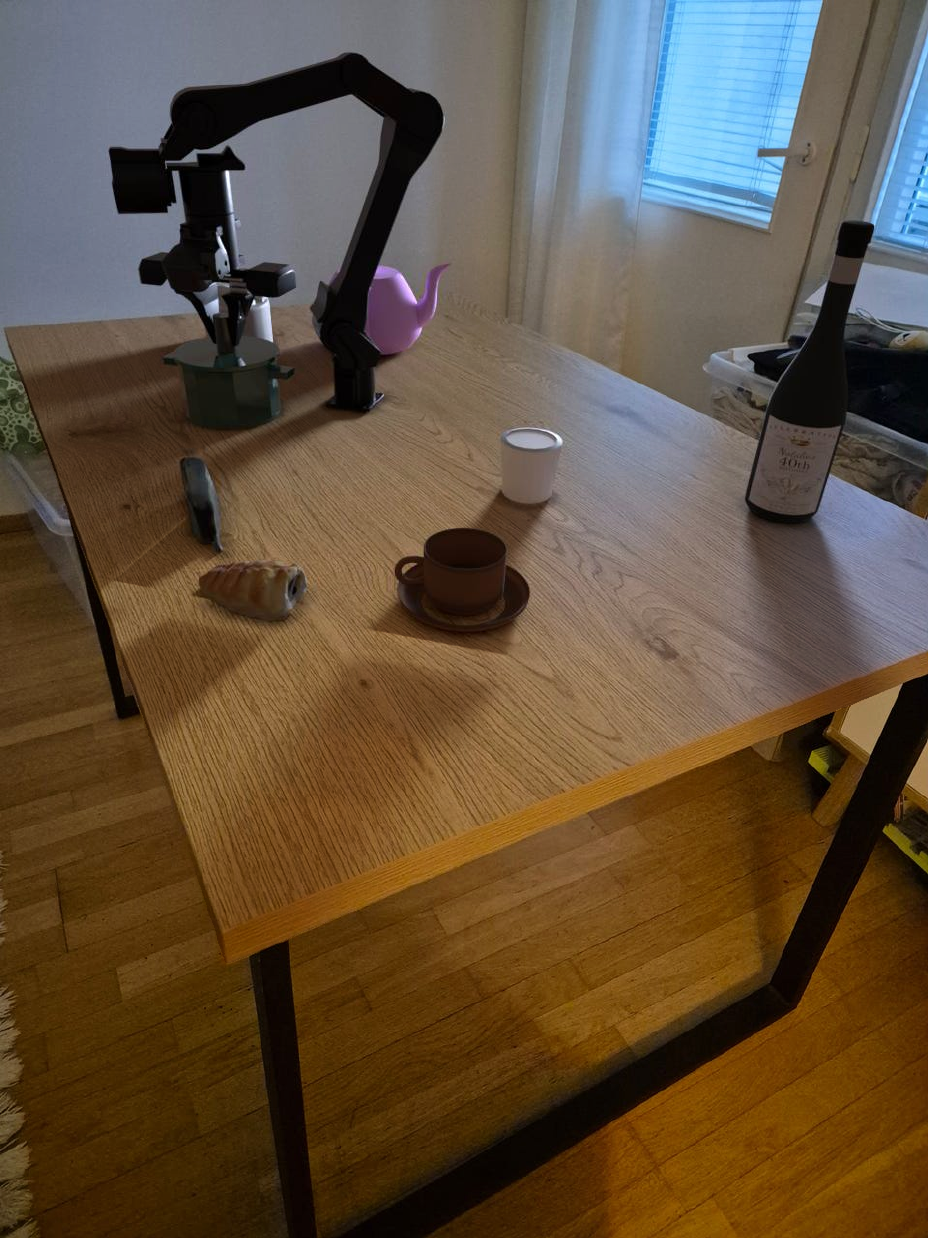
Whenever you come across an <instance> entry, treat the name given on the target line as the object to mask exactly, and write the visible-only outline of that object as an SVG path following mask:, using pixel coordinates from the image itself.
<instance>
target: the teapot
mask: <svg viewBox="0 0 928 1238" xmlns="http://www.w3.org/2000/svg"><path fill="white" fill-rule="evenodd" d="M451 265H452V263H450V262H449V263H445V264H441V265H440V264H439V265H437V266H434V267H433V268H431V269H430V271H428V274H427V276H426V281H425V292H424V295H423V297H422V299H421V300H419V302H417V300H416V298H415V295H414V293H413V291H412V289H411V288H410V285H408V283H407V281H406V279H405V278H404V276H403V275H402V273H401V272H400V271H399V270H398V269H396V268H394V267H390V266H386V265H380V264H379V265H378V268H377V270H376V273H375V276H374V278H373V281H372V284H371V286H370V290H369V300H368V315H367V321H366V326H365V332H366V333H367V334H368V336H369V337H370V338H371V340H372V341H373V342H374V344H375V345H376V346H377V348H378V349H379V351H380V352H381V355H383V356H384V355H385V356H386V355H387V356H388V355H394V354H396V353H399V352H403V351H406V350H407V349H409V348H410V347H412V345H413V344H414V343H415V342H416V340H417V339H418V338H419V337H420V336H421V333H422V330H423V329H422V328H423V327H424V326H425V325H427V324H428V323H429V322H430V321H431V320H432V319H433V317H434V314H435V311H436V308H437V299H438V285H439V281H440V277H441V276H442V274H443V272H444V271H445V270H446V269H448V267H450V266H451ZM340 269H341V267H340V268H338V269H337V270H336V271H335V272H334V274H333V275H332V277H331V278H330V280H329V282H328V283H327V285H330V284H331V283H332V282H333V280H334V279H335V278H336V277H337V275H338V273H339V272H340ZM381 355H380V356H381Z"/></svg>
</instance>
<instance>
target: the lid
mask: <svg viewBox="0 0 928 1238" xmlns="http://www.w3.org/2000/svg"><path fill="white" fill-rule="evenodd" d="M213 323H214V331H215V338H216V344H214V343H213V342H212V340H211V338H210V337H208V338H206V337H203V338H197V339H193V340H190V341H187V342H185V343H182V344H180V345H179V346H177V347H176V348H175V349H174V350H173V351H172V352H173V356H174V360H175V362H176V363H177V364H179V365H180V366H183V367H185V368H188V369H192V370H198V371H205V372H236V371H244V370H250V369H255V368H259V367H262V366H265V365H268V364H270V363H272V362H274V361H275V360H276V359H277V360H278V358H279V357H280V355H281V353H280V347H279V346H278V344H276V343H275V342H274V341H273V342H271V341H268V340H265V339H262V338H257V337H249V336H241V340H240V343H239V345H237V346H233V345H232V341H231V336H230V327H229V317H228V313H217V314H214V315H213Z"/></svg>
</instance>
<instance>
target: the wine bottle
mask: <svg viewBox="0 0 928 1238" xmlns="http://www.w3.org/2000/svg"><path fill="white" fill-rule="evenodd" d="M874 232H875V224H874V223H872V222H869V221H864V220H856V219H854V220H853V219H852V220H851V219H850V220H843V221H841V223H840V225H839V228H838V233H837V237H836V241H837V242H836V246H835V249H834V250H835V251H834V254H833V258H832V263H831V267H830V270H829V274H828V278H827V282H826V286H825V289H824V293H823V296H822V300H821V303H820V308H819V310H818V315H817V318H816V319H815V322H814V324H813V327H812V329H811V331H810V333H809V335H808V337H807V338H806V340H805V342H804V343H803V345H802V346H801V347H800V349H799V350H798V352H797V354H795V356H794V358H793V359H792V361H791V362H790V363H789V364H788V366H787V367H786V369H785V370H784V372H783V373H782V374H781V376H780V378H779V380H778V381H777V383H776V385H775V387H774V389H773V391H772V393H771V396H770V398H769V400H768V403H767V405H766V410H765V414H764V418H763V421H762V424H761V425H762V426H761V429H760V434H759V438H758V442H757V446H756V451H755V454H754V458H753V462H752V466H751V470H750V473H749V478H748V482H747V485H746V491H745V496H744V501H745V504H746V505H747V507H748V509H749V510H750V511H752V512H753V513H754V514H755V515H757V516H759V517H761V518H763V519H766V520H769V521H773V522H776V523H784V524H797V523H798V524H799V523H802V522H806V521H809V520H811V519H812V518H813V517H814V516H815V515H817V513H818V511H819V509H820V506H821V502H822V499H823V496H824V493H825V489H826V487H827V483H828V480H829V478H830V473H831V470H832V467H833V463H834V460H835V457H836V454H837V450H838V447H839V444H840V440H841V437H842V434H843V431H844V427H845V424H846V420H847V412H848V404H849V403H848V402H849V383H848V374H847V366H846V357H845V355H846V353H845V332H846V325H847V319H848V314H849V311H850V307H851V304H852V302H853V301H852V300H853V297H854V294H855V290H856V287H857V284H858V280H859V276H860V273H861V270H862V266H863V263H864V261H865V260H864V259H865V256H866V253H867V249H868V248H869V245H870V244H871V242H872V240H873V236H874Z"/></svg>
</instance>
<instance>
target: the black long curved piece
mask: <svg viewBox="0 0 928 1238" xmlns="http://www.w3.org/2000/svg"><path fill="white" fill-rule="evenodd" d="M179 467H180V474H181V480H182V486H183V487H182V488H183V493H184V495H185V500H186V504H187V512H188V515H189V516H188V518H189V523H190V528H191V529H190V530H191V532H192V535H193V537H194V538H195V539H196V540H197V541H198V542H199V543H201V544H202V545H203V544H210V545H212V546H213V547H214V550H215V552H216V553H217V554H218V553H219V554H220V553H223V551H224V549H223V547H222V544H221V542H220V535H221V530H220V522H221V521H220V520H221V514H220V508H219V501H218V500H219V499H218V495H217V492H216V488H215V486H214V482H213V481H212V479H211V476H210V473H209V470H208V467H207V465H206V463H205V461H204V460H203V459H202V458H200V457H196V456H186V457H182V458H180V460H179Z"/></svg>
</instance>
